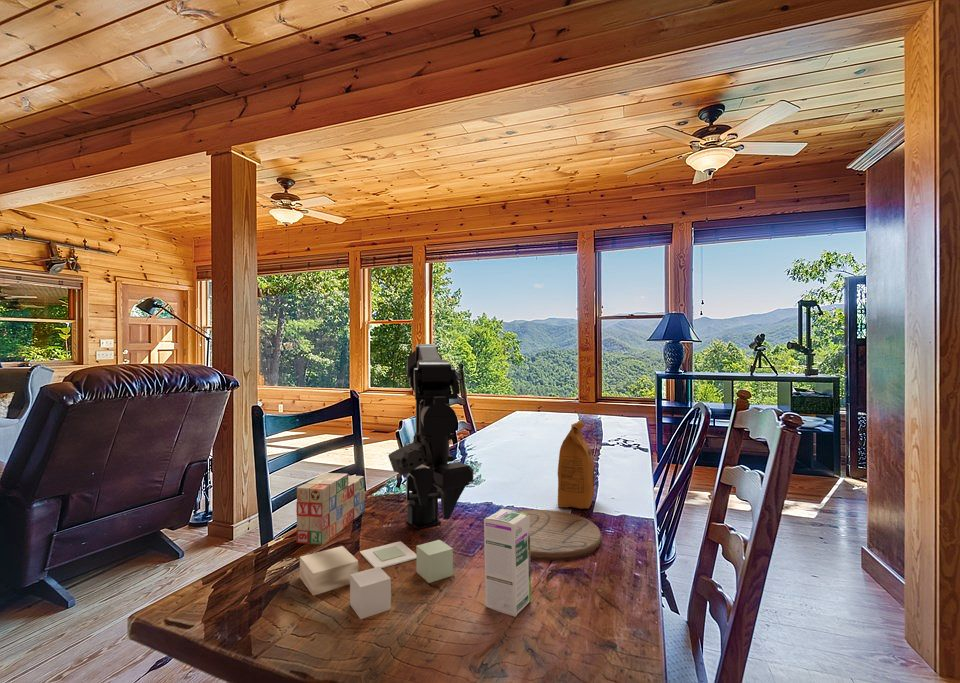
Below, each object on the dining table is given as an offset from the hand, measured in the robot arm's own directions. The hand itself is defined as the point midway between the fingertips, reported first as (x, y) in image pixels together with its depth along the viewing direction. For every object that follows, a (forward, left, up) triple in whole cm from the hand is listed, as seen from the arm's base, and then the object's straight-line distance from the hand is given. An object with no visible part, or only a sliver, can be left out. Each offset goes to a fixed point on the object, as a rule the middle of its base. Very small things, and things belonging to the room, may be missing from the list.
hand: (434, 511), depth 86 cm
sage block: (0, 0, -12) cm, 12 cm away
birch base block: (+17, -9, -12) cm, 23 cm away
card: (+4, -12, -11) cm, 17 cm away
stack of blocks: (+9, -34, -12) cm, 37 cm away
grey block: (+14, +4, -12) cm, 19 cm away
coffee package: (-51, -13, -12) cm, 54 cm away
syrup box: (-5, +16, -12) cm, 21 cm away
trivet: (-29, -2, -12) cm, 31 cm away
